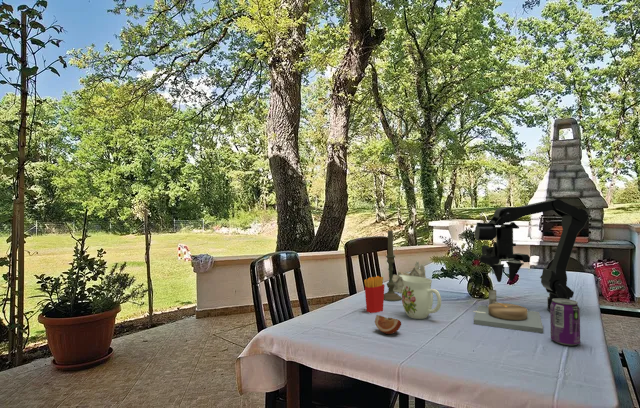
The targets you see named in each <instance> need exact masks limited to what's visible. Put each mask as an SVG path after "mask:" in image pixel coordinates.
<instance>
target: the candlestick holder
mask: <svg viewBox="0 0 640 408" xmlns="http://www.w3.org/2000/svg"><path fill="white" fill-rule="evenodd" d="M385 257H386V258H387V259H386V262H387V263H388V269H387V270H388V278H389V279H388V282H387V283H386V287H387V288H388V291H387V292H384V302H385V301H387V302H399V301H402V295H399V294H398V293H397V292H394V291H393V288H394V286H395V283H393V280H392V278H393V275H394V274H393V271H394V268H393V267H394V266H393V264H394V263H395V258H396V256H395V255H394V230H392V229H390V230H387V255H386V256H385Z"/></svg>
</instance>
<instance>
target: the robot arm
mask: <svg viewBox="0 0 640 408" xmlns="http://www.w3.org/2000/svg"><path fill="white" fill-rule="evenodd" d="M549 211H553V213H555V214H556V215H557V216H559V217H561V228H562V232H561V234H560V238H559V240H558V243H557V247H556V250H555V253H554V256H553V259H552V262H551V265H550V266H549V267H548V268H545V267H544V268H543V269H542V274H541V276H539V278H540V283H541V285H542V286H543V287H544V289H545V291H546V293H548V297H547V296H546V297H547V302H546V303H547V306H546V308H547V310H549V312H550V305H551V303H552V299H555V298H562V299H570V300H571V298H572V299H573V297H574V294H575V292H574V290H572V289H571V288H570V287H569V286H568V284H567V283H568V275H567V269H568V265H569V262H570V258H571V255H572V252H573V249H574V246H575V243H576V240H577V236H578V234H579V233H580V232H581V231H582V230H583V229H584V228H585V226H586V224H587V222H588V221H589V218H590V215H589V213H588V212H587V211H586V210H585V209H583V208H578V207H576V206H574V205H572V204H569V203H567V202H565V201H564V200H562V199H560V198H550V199H548V200H544V201H540V202H534V203H528V204H525V205H520V206H507V207H498V208H496V209H495V210H494V212H493V213H494V214H493V217H492V218H491V219H489V222H476V226H475V229H474V237H475V238H474V239H475V240H476V241H494V239H496V242H493V246H489V245H483V246H481V253H482V255H481V256H480V257H479V263H480V264H481V263H482V264H486V265H489V266H490V267H491V268H492V271H493V273H494V275H495V278H496V280H497V282H498V283H501V282H502V278H503V272H504V267H505V265H504V264H502V262H505V263H506V264H507V266H508V277H509V281H510V282H513V281H514V280H515V278H516V276H517V274H518V272H519V270H520V269H521V268H522V266H524V263H530V262H531V257H530V255H529V254H526V253H518V252H517V253H515V252H514V247H517V244H516V242H514V229H520V226H519V225H517V224H516V222H514V221H516V220H519V219H521V218H523V217H526V216H531V215H535V214H540V213H545V212H549Z"/></svg>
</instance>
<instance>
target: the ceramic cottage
mask: <svg viewBox="0 0 640 408" xmlns="http://www.w3.org/2000/svg"><path fill="white" fill-rule="evenodd" d="M399 275H408V276H416V277H423V278H427V276H426V269H425V264H419V261H416V262H415V265H414V266H413V267H412V268H411V270H410V272H406V271H404V272H403V273H401V271H397V274H393V275H392V276H393V277H392V280H393V283H395V286H394V288H393V291H394V292H395V293H398V292H399V294H402V289H403V286H404V285H403V279H402V278H401V277H400V276H399Z"/></svg>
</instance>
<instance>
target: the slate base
mask: <svg viewBox="0 0 640 408" xmlns="http://www.w3.org/2000/svg"><path fill="white" fill-rule="evenodd" d="M472 312H473V313H475V315H474V317H473V325H479V326H486V327H494V328H499V329H500V328H501V329H507V330H508V329H509V330H515V331H522V332H523V331H524V332H531V333H539V334H544V325H543V321H542V318H541V314H540V311H534V310H533V311H532V310H527V319H524V320H507V319H501V318H497V317H494V316H491V315H490V314H489V312H488V305H478V306H477V309H476V310H473V311H472Z"/></svg>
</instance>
